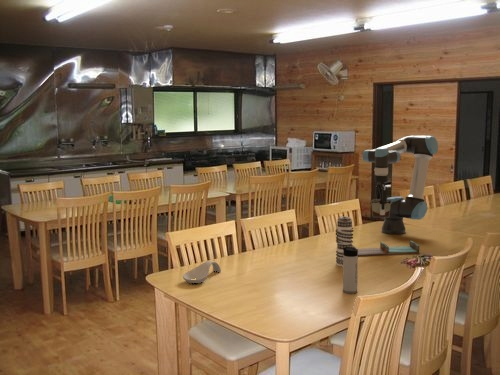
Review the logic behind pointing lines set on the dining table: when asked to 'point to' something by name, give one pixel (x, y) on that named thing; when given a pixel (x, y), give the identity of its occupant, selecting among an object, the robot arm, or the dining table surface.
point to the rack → (389, 250)
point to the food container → (376, 208)
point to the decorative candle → (343, 237)
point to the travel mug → (350, 270)
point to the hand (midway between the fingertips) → (380, 213)
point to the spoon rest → (200, 272)
